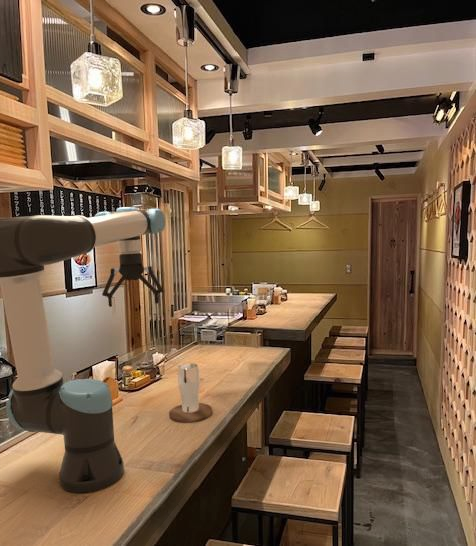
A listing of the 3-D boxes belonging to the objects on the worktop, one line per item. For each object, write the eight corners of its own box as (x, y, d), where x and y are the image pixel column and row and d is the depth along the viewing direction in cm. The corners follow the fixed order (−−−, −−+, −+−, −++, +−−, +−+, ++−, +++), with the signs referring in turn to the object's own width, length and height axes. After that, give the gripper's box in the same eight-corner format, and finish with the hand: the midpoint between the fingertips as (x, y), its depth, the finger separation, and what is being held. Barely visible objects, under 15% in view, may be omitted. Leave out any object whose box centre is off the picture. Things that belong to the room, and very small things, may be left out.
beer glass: (197, 415, 143) (194, 369, 142) (177, 414, 145) (174, 369, 143) (203, 406, 150) (201, 363, 149) (184, 406, 151) (181, 363, 150)
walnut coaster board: (191, 426, 138) (191, 422, 137) (160, 417, 146) (160, 413, 146) (220, 411, 149) (220, 407, 149) (189, 403, 157) (189, 400, 157)
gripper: (167, 250, 158) (171, 310, 159) (94, 254, 154) (99, 315, 156) (167, 251, 150) (171, 313, 152) (90, 255, 147) (95, 319, 148)
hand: (134, 314), depth 154 cm, fingers open, 13 cm apart
